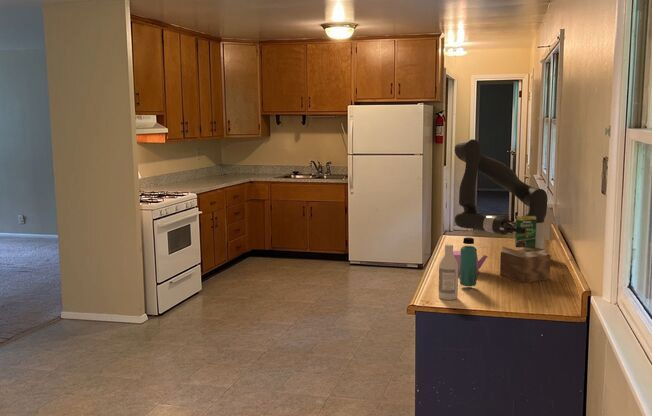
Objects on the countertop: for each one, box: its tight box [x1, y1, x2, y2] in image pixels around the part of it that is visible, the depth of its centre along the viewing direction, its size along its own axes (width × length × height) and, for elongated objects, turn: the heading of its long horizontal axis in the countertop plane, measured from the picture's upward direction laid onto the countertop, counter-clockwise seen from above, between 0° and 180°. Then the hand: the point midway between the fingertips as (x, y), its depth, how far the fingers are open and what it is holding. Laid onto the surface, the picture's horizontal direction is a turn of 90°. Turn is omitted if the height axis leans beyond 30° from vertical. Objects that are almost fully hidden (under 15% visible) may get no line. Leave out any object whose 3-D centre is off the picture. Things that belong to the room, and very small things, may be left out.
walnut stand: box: [499, 246, 552, 284], centre depth 265 cm, size 14×14×12 cm
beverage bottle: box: [459, 236, 478, 287], centre depth 248 cm, size 6×7×20 cm
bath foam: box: [438, 243, 459, 301], centre depth 234 cm, size 7×7×20 cm
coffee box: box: [514, 215, 536, 249], centre depth 263 cm, size 8×3×13 cm, turn 82°
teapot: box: [453, 250, 488, 276], centre depth 274 cm, size 18×10×10 cm, turn 80°
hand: (530, 230), depth 262 cm, fingers closed on coffee box, 7 cm apart
